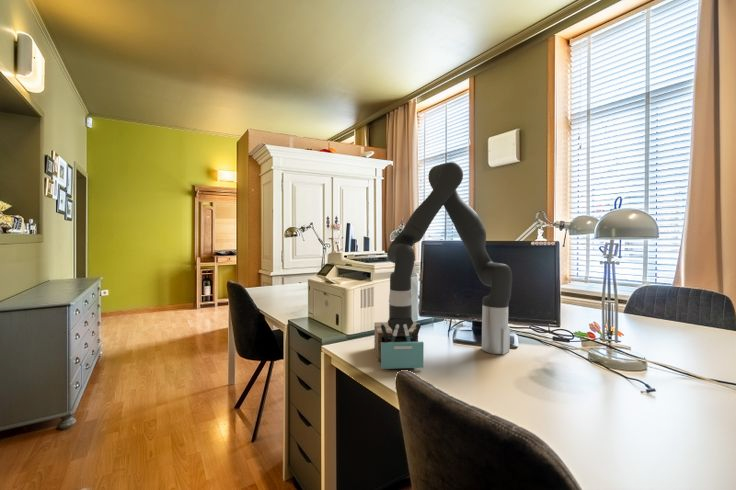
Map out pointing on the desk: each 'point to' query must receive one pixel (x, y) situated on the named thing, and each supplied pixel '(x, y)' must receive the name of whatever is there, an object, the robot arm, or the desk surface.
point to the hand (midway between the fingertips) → (400, 353)
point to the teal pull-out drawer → (401, 355)
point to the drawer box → (380, 337)
